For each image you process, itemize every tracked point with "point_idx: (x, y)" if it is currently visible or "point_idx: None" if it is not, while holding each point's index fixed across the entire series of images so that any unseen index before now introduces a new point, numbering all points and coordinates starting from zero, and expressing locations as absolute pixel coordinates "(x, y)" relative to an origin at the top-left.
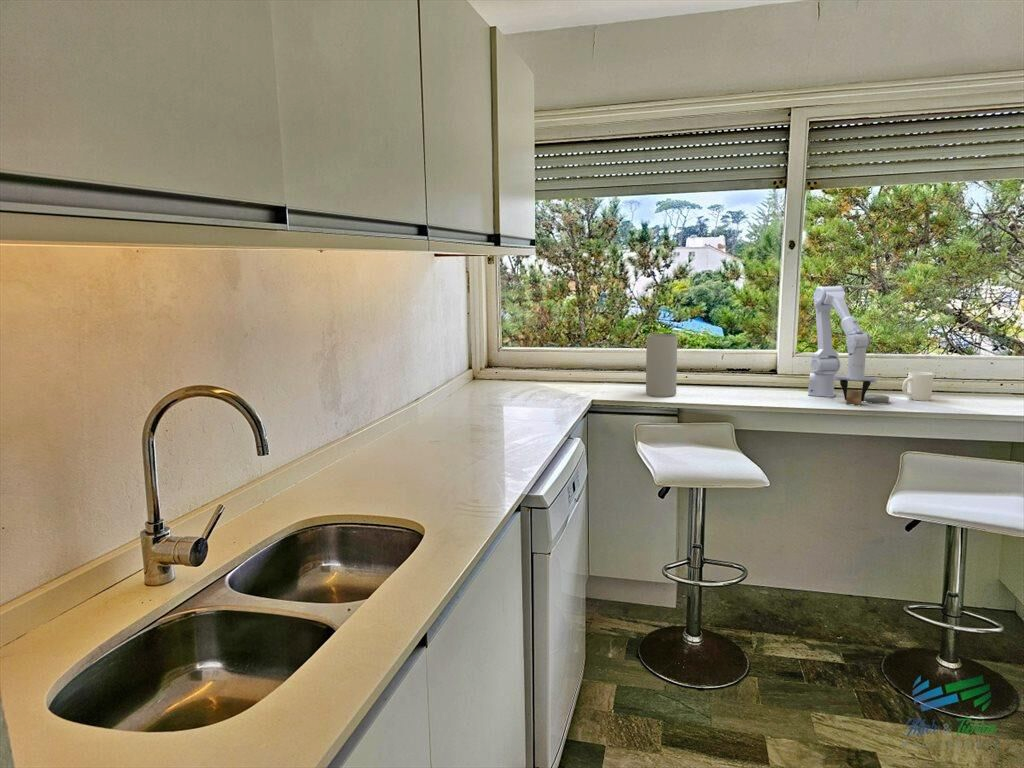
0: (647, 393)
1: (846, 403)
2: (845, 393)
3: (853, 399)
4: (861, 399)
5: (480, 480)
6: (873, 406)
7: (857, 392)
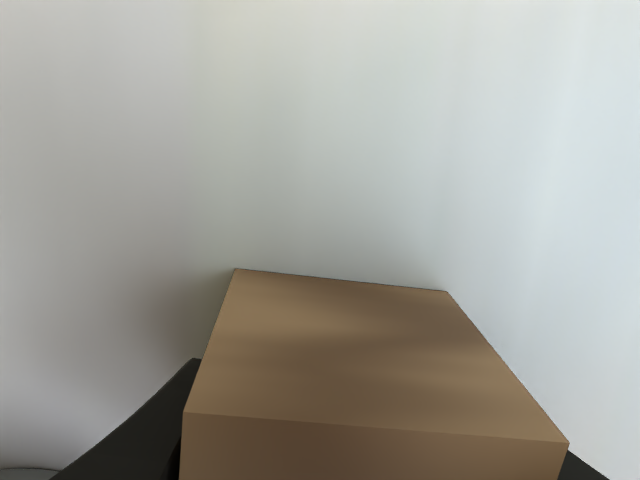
0: None
1: (447, 297)
2: None
3: (358, 325)
4: None
5: None
6: (41, 267)
7: (295, 420)
